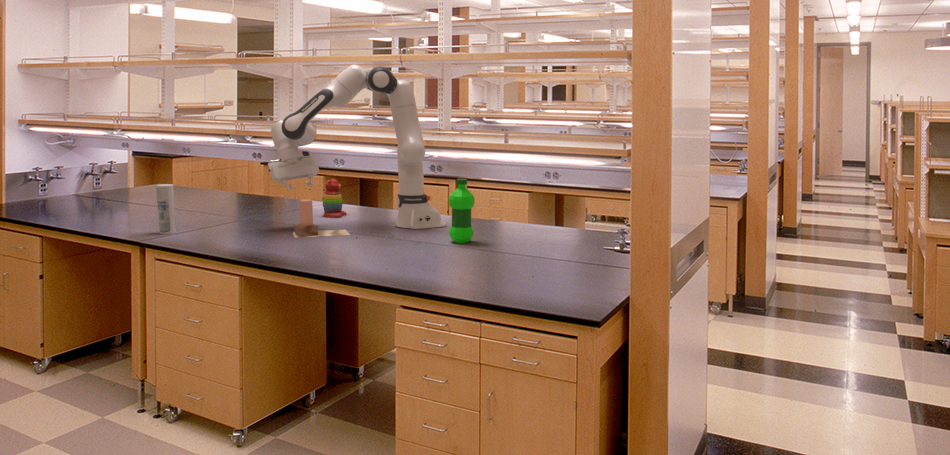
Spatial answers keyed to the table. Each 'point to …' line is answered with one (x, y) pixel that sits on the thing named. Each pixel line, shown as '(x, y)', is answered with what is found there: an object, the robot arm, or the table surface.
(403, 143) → the robot arm
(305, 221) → the terracotta pillar
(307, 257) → the table surface
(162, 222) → the spray can
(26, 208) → the table surface
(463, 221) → the plastic bottle
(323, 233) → the birch base board
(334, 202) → the stacking bear
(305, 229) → the walnut plinth
